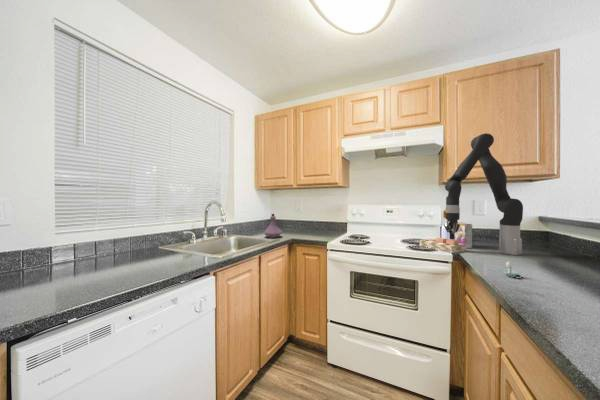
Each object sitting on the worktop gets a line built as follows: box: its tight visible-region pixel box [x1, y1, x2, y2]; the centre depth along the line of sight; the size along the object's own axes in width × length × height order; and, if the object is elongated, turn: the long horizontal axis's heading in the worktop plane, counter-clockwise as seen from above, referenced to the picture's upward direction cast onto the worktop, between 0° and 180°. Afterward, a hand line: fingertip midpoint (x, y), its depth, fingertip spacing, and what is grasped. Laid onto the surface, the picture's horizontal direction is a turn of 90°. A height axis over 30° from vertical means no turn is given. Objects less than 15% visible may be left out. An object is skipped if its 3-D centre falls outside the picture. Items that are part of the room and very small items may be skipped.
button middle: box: [435, 237, 447, 243], centre depth 151 cm, size 5×5×3 cm
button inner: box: [446, 239, 458, 245], centre depth 144 cm, size 5×5×3 cm
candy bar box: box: [455, 221, 473, 249], centre depth 155 cm, size 11×5×16 cm, turn 179°
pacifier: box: [502, 261, 523, 279], centre depth 97 cm, size 7×6×6 cm
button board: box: [419, 238, 467, 254], centre depth 151 cm, size 22×14×4 cm, turn 24°
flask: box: [263, 213, 283, 239], centre depth 194 cm, size 16×16×20 cm
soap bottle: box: [440, 209, 455, 240], centre depth 178 cm, size 9×9×25 cm
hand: (452, 239), depth 144 cm, fingers closed
